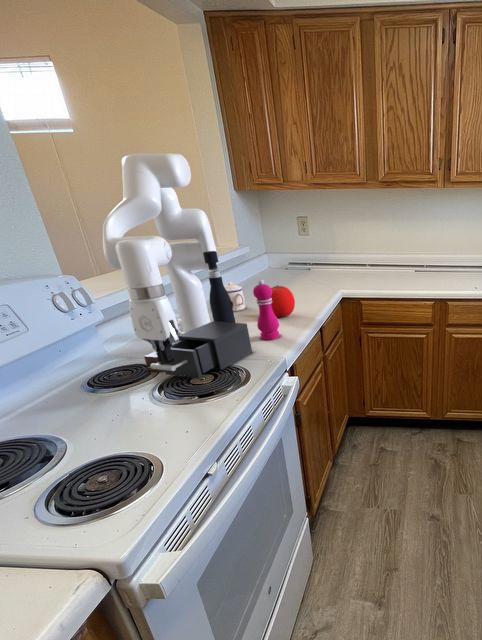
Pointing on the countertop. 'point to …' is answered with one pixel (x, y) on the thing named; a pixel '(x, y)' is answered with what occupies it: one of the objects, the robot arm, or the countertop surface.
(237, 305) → the teacup with lid
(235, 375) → the countertop surface
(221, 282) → the wine bottle
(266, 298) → the pepper mill
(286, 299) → the tomato
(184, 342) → the drawer
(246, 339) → the cabinet
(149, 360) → the block
